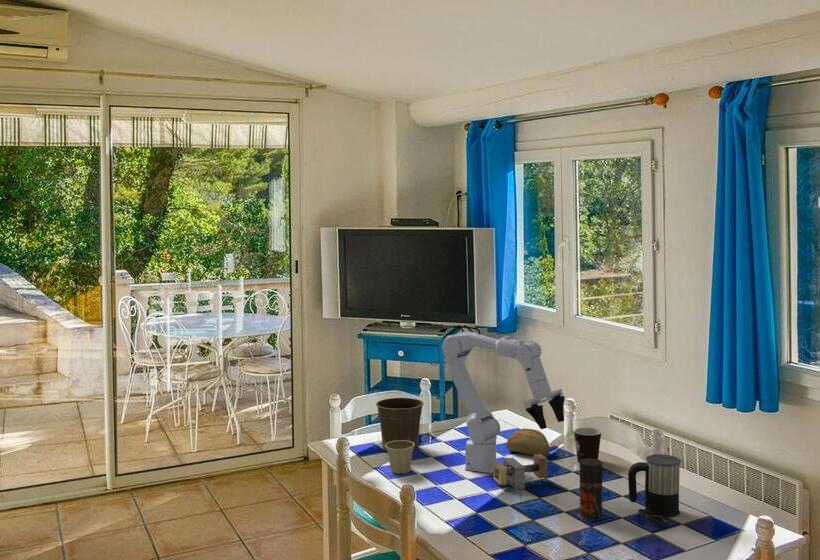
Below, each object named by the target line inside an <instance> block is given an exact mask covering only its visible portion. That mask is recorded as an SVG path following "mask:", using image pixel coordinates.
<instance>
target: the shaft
mask: <svg viewBox="0 0 820 560" xmlns="http://www.w3.org/2000/svg"><path fill="white" fill-rule="evenodd" d="M522 465H523V466H524V467H525V474H527V473H533V474H534V475H535V476H536V477H538V479H545V478H547V479H548V458H547V457H546V456H543V455H542V454H535V455H533V464H525V465H524V464H522ZM506 468H507V475H510V474H511V467H506ZM494 475H495V476H499V470H498V469H497V468H496V469H494Z"/></svg>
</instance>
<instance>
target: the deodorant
mask: <svg viewBox="0 0 820 560" xmlns="http://www.w3.org/2000/svg"><path fill="white" fill-rule="evenodd" d="M579 517H580V518H582V519H584V520H589V521H595V520H599V519H600V520H601V519H602V518H603V461H602V460H601V459H599V458H598V459H592V458H587V459H582V460H580V463H579Z"/></svg>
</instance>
